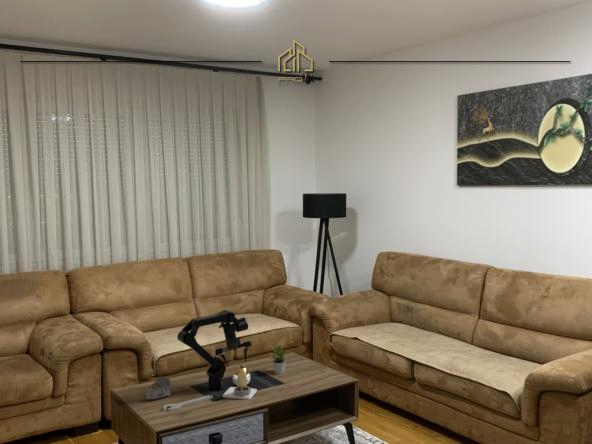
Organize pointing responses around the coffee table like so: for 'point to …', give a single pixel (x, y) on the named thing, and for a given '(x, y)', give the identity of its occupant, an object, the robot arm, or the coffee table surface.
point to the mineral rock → (159, 388)
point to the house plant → (278, 359)
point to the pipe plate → (239, 393)
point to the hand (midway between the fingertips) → (237, 364)
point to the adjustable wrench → (185, 403)
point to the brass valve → (242, 378)
